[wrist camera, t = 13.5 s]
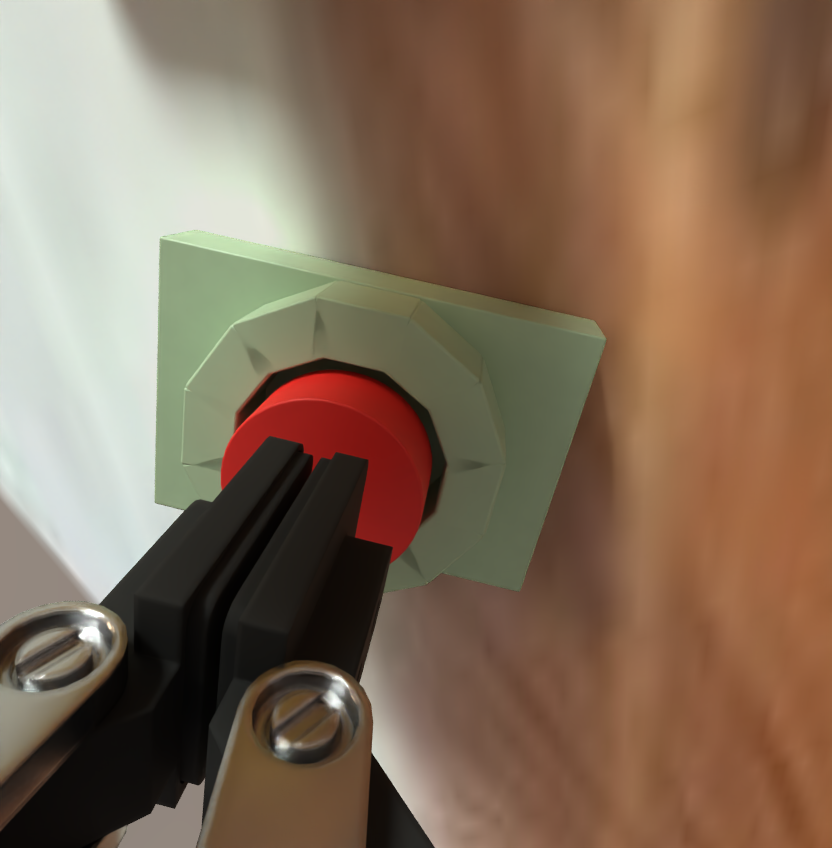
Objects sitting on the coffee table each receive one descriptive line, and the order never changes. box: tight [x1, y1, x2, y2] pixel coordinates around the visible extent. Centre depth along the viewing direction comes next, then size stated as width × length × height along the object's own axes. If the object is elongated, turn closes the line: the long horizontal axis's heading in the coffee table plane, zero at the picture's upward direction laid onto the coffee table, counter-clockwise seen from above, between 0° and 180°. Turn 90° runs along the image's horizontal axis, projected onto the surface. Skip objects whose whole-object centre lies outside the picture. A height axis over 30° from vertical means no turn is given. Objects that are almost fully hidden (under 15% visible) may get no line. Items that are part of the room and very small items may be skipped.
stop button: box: [221, 370, 432, 564], centre depth 12 cm, size 4×4×2 cm
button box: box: [155, 230, 607, 593], centre depth 14 cm, size 10×7×4 cm
